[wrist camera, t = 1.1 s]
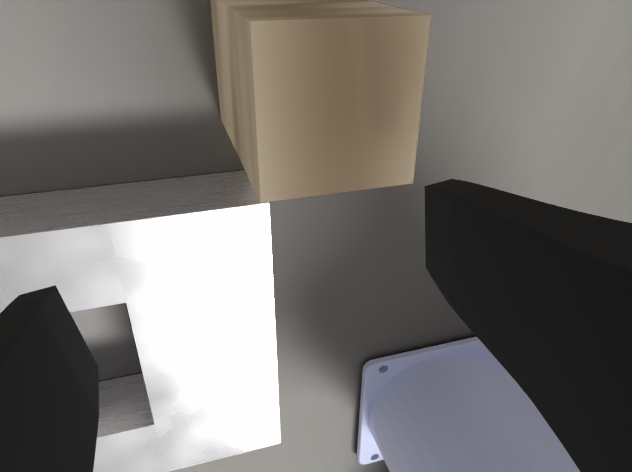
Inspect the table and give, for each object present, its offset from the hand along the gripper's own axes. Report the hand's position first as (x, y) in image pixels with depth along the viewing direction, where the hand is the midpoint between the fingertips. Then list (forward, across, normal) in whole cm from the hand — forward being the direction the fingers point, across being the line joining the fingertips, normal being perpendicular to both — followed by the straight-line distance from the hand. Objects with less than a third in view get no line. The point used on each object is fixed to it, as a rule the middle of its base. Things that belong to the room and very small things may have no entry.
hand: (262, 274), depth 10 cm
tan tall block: (+10, -3, -2) cm, 10 cm away
